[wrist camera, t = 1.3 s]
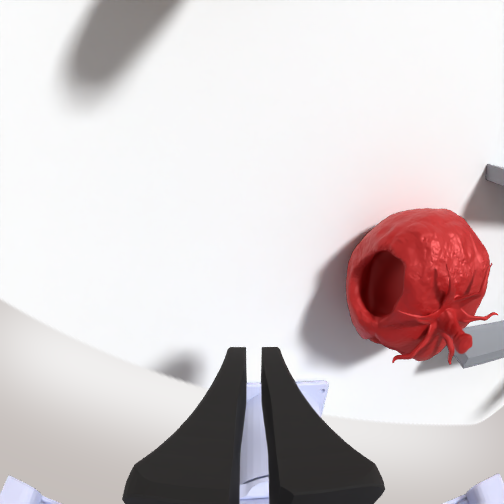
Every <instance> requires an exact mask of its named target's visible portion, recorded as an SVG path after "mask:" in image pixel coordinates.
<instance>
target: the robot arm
mask: <svg viewBox="0 0 504 504" xmlns="http://www.w3.org/2000/svg"><path fill="white" fill-rule="evenodd" d="M328 387H329V385H328V382H327V381H312V382H295V381H294V379H293V377H292V376H291V374H290V372H289V370H288V368H287V366H286V364H285V362H284V359H283V357H282V354H281V351H280V349H279V348H278V347H262V365H261V383H247V377H246V347H230V348H229V349H228V350H227V354H226V356H225V359H224V362H223V364H222V366H221V368H220V370H219V372H218V374H217V376H216V378H215V380H214V382H213V383H212V385H211V387H210V388H209V390H208V391H207V393H206V395H205V396H204V398H203V399H202V401H201V402H200V403H199V405H198V406H197V408H196V409H195V410H194V412H193V413H192V414H191V415H190V416H189V418H188V419H187V420H186V421H185V422H184V423H183V424H182V425H181V426H180V428H179V429H178V430H177V431H176V432H175V433H174V434H173V435H172V436H170V437H169V438H168V439H167V440H166V441H165V442H164V443H163V444H161V445H160V446H159V447H158V448H157V449H156V450H154V451H153V452H152V453H150V454H149V455H147V456H146V457H145V458H143V459H142V460H141V461H139V462H138V463H136V464H135V465H134V467H133V469H132V470H131V472H130V475H129V477H128V479H127V482H126V485H125V490H124V494H123V498H122V500H123V501H124V503H125V504H374V503H375V502H376V500H377V499H378V498H379V497H380V496H381V495H382V493H383V492H384V490H385V487H384V482H383V480H382V477H381V475H380V473H379V471H378V468H377V467H376V465H375V463H373V462H372V461H370V460H369V459H367V458H366V457H364V456H363V455H361V454H360V453H359V452H357V451H356V450H354V449H353V448H352V447H351V446H350V445H348V444H347V443H346V442H345V441H344V440H343V439H341V437H339V436H338V435H337V434H336V433H335V432H334V431H333V430H332V429H331V428H330V427H329V426H328V425H327V424H326V423H325V422H324V421H323V420H322V418H321V415H322V412H323V408H324V404H325V400H326V396H327V392H328ZM321 389H323V390H321ZM0 504H62V503H59V502H57V501H54V500H52V499H49V498H47V497H45V496H42V495H41V494H40V492H38V491H37V490H36V489H35V488H33V487H32V486H30V485H28V484H26V483H24V482H22V481H20V480H18V479H16V478H14V477H12V476H8V478H7V480H6V482H5V484H4V487H3V489H2V491H1V494H0ZM442 504H504V483H503V480H502V478H501V476H500V474H499V473H498V474H495V475H493V476H492V477H490V478H488V479H486V480H484V481H482V482H480V483H478V484H476V485H475V486H473V487H472V488H471V489H470V490H469V491H467V493H466V494H464V495H462V496H459V497H457V498H454V499H452V500H450V501H447V502H445V503H442Z"/></svg>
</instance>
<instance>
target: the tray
mask: <svg viewBox="0 0 504 504" xmlns="http://www.w3.org/2000/svg"><path fill="white" fill-rule="evenodd" d="M486 180H489V181H491V182H494V183H497V184H499V185H502V186H504V168H503V167H499V166H494V165H490V164H487V172H486ZM463 331H464V332H465V333H467V334H470V335H471V336H472V342H473V343H472V347H471V348H469V349H468V350H467V352H465V353H464V354H459V353H458V352H457V351H456V350H455V352H454V356H455V357H456V359H457V360H458V362H459V363H460V365H461V366H462V368H463V369H464V368H468V367H472V366H476V365H479V364H483V363H487V362H490V361H494V360H497V359H501V358H504V321H499V322H494V323H489V324H483V325H478V326H472V327H466V328H464V329H463Z"/></svg>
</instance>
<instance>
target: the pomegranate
mask: <svg viewBox="0 0 504 504" xmlns="http://www.w3.org/2000/svg"><path fill="white" fill-rule="evenodd" d="M491 265H492V263H491ZM491 265H490V260H489V255H488V253H487V250H486V248H485V247H484V245H483V244H482V243H481V241H480V240H479V238H478V237H477V235H476V234H475V232H474V231H473V230H472V229H471V228H470V226H469V225H468V223H467V222H466V221H465V219H464V218H462V217H460V216H459V215H457V214H456V213H454V212H452V211H451V210H447V209H429V208H426V209H413V210H407V211H402V212H398V213H395V214H393V215H390V216H389V217H387V218H386V219H384V220H383V221H381V222H380V223H379V224H378V225H377V226H376V227H374V228H373V229H372V230H371V231H370V232H368V233H367V234H366V235H365V237H364V238H363V239H362V240H361V242H360V243H359V244H358V245H357V246H356V247H355V249H354V251H353V252H352V255H351V258H350V260H349V263H348V269H347V278H346V295H347V303H348V308H349V311H350V316H351V320H352V323H353V325H354V326H355V328H356V330H357V332H358V333H359V335H360V336H361V337H362V338H363V339H370V340H371V341H373V342H374V343H377V344H378V343H379V344H382V345H384V346H385V347H387V348H389V349H392V350H396V351H398V352H399V353H401V354H402V355H397V356H395V357H394V358H393V361H392V363H394V361H395V360H397V359H411V358H413V359H415V360H417V361H425V360H428V359H430V358H432V357H433V356H435V355H436V354H438V353H439V352H441V351H442V349H443V348H444V347H445V346H446V345H447V347H448V350H449V353H448V362H449V364H451V360H452V357H453V355H454V352H455V350H456V351H457V352H458V353H459V354H464V353H465V352H467V350H468V349H469V348H471V347H472V343H473V342H472V336H471V335H470V334H467V333H465V332H464V331H463V329H464V328H465V327H466V326H467V325H468V324H469V323H470V322H472V321H476V320H483V321H485V320H487V319H489V318H490V317H491V316H492V315H498V314H497V313H495V312H492V313H490V314H489V315H487V316H485V317H480V316H474V315H475V313H476V310H477V308H478V307H479V305H480V303H481V300H482V299H483V297H484V295H485V292H486V289H487V283H488V276H489V272H490V267H491Z"/></svg>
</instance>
